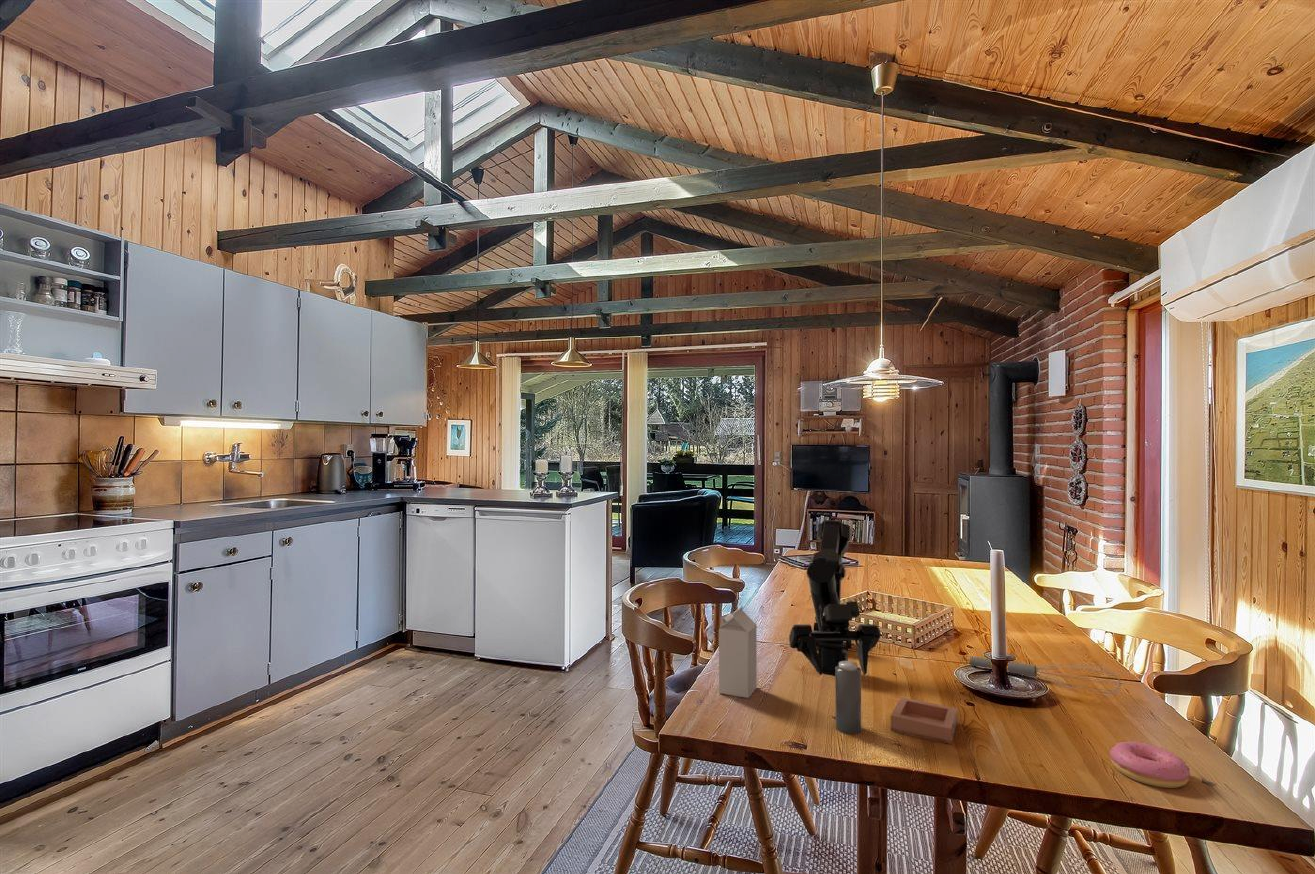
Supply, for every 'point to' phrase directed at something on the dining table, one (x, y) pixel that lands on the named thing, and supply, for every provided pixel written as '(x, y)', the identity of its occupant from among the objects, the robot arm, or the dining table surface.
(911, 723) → the terracotta holder
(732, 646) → the milk carton
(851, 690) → the pepper mill
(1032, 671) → the kitchen whisk
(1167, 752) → the doughnut
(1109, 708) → the dining table surface
